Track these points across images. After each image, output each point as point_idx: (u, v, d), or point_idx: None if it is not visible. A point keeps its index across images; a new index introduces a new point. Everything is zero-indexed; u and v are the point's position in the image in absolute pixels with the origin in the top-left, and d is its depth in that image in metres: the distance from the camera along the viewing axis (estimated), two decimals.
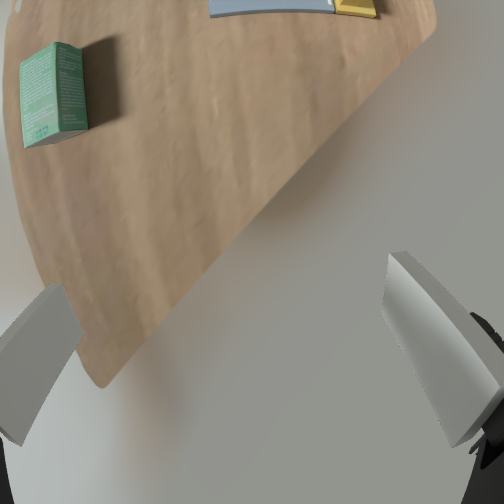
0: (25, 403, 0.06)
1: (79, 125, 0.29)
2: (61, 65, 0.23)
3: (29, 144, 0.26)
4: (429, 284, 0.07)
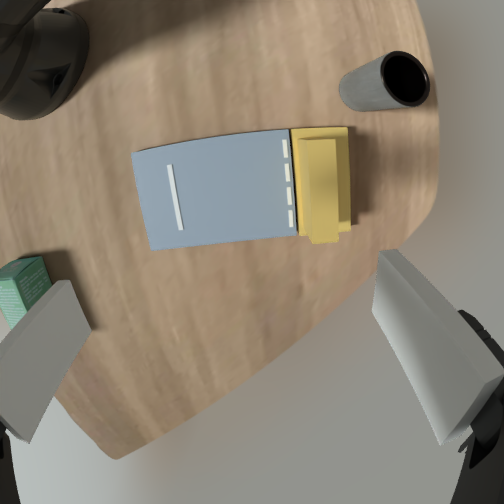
0: (33, 400, 0.06)
1: None
2: (28, 299, 0.28)
3: None
4: (417, 281, 0.07)
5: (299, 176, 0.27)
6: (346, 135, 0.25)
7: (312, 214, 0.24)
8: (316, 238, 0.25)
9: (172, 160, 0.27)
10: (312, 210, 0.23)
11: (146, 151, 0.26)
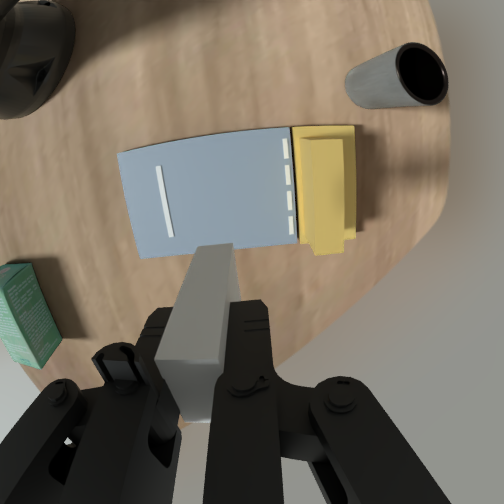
0: None
1: (54, 346, 0.32)
2: (17, 309, 0.25)
3: (17, 361, 0.28)
4: (216, 270, 0.10)
5: (301, 179, 0.24)
6: (353, 134, 0.23)
7: (315, 223, 0.21)
8: (319, 249, 0.22)
9: (162, 161, 0.24)
10: (315, 218, 0.21)
11: (133, 151, 0.23)
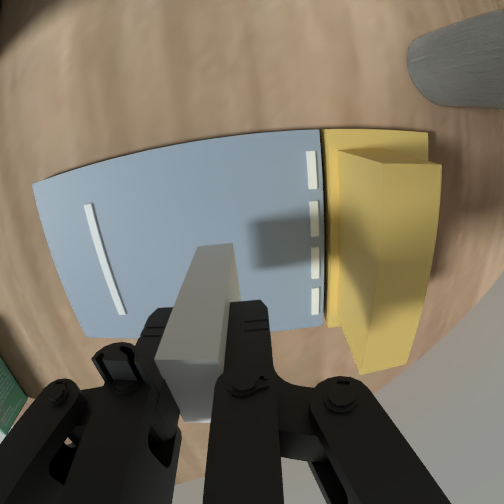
0: None
1: (18, 408, 0.21)
2: None
3: None
4: (217, 270, 0.10)
5: (338, 227, 0.13)
6: (426, 148, 0.12)
7: (371, 329, 0.10)
8: (369, 365, 0.11)
9: (92, 196, 0.13)
10: (372, 322, 0.10)
11: (52, 180, 0.12)
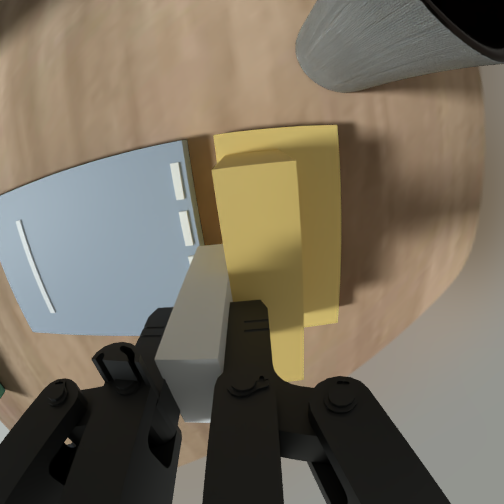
0: None
1: None
2: None
3: None
4: (216, 270, 0.10)
5: None
6: (335, 142, 0.12)
7: None
8: None
9: (20, 214, 0.13)
10: None
11: None
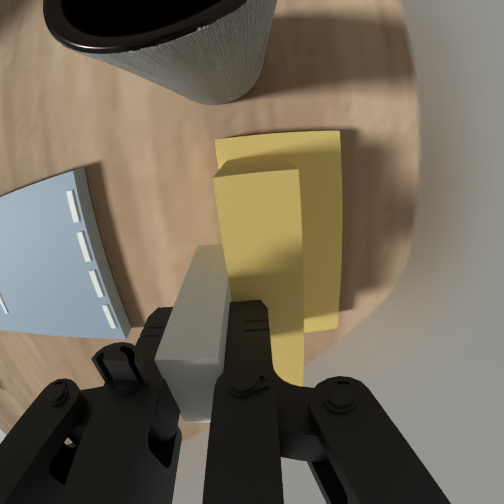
0: None
1: None
2: None
3: None
4: (216, 270, 0.10)
5: None
6: (337, 148, 0.12)
7: None
8: None
9: None
10: None
11: None
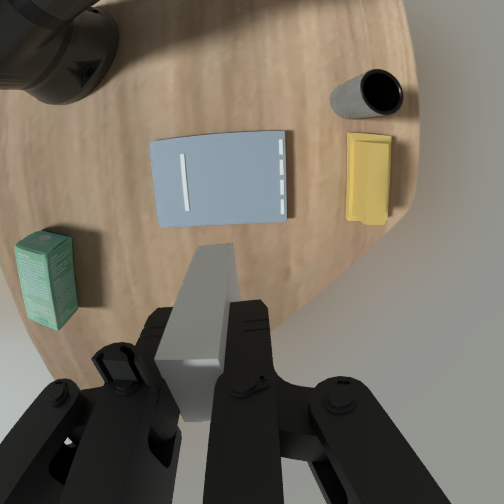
0: None
1: (71, 313, 0.39)
2: (54, 275, 0.32)
3: (32, 319, 0.34)
4: (216, 270, 0.10)
5: (352, 171, 0.32)
6: (390, 142, 0.30)
7: (367, 200, 0.28)
8: (368, 220, 0.29)
9: (185, 150, 0.31)
10: (368, 197, 0.28)
11: (163, 141, 0.31)
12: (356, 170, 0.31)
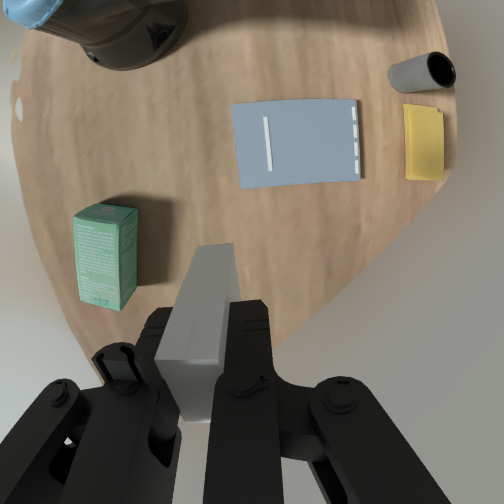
0: None
1: (132, 292, 0.40)
2: (122, 248, 0.34)
3: (86, 301, 0.36)
4: (217, 270, 0.10)
5: (411, 136, 0.32)
6: None
7: (430, 158, 0.29)
8: (432, 175, 0.30)
9: (268, 114, 0.32)
10: (431, 156, 0.29)
11: (245, 104, 0.31)
12: (415, 135, 0.31)
